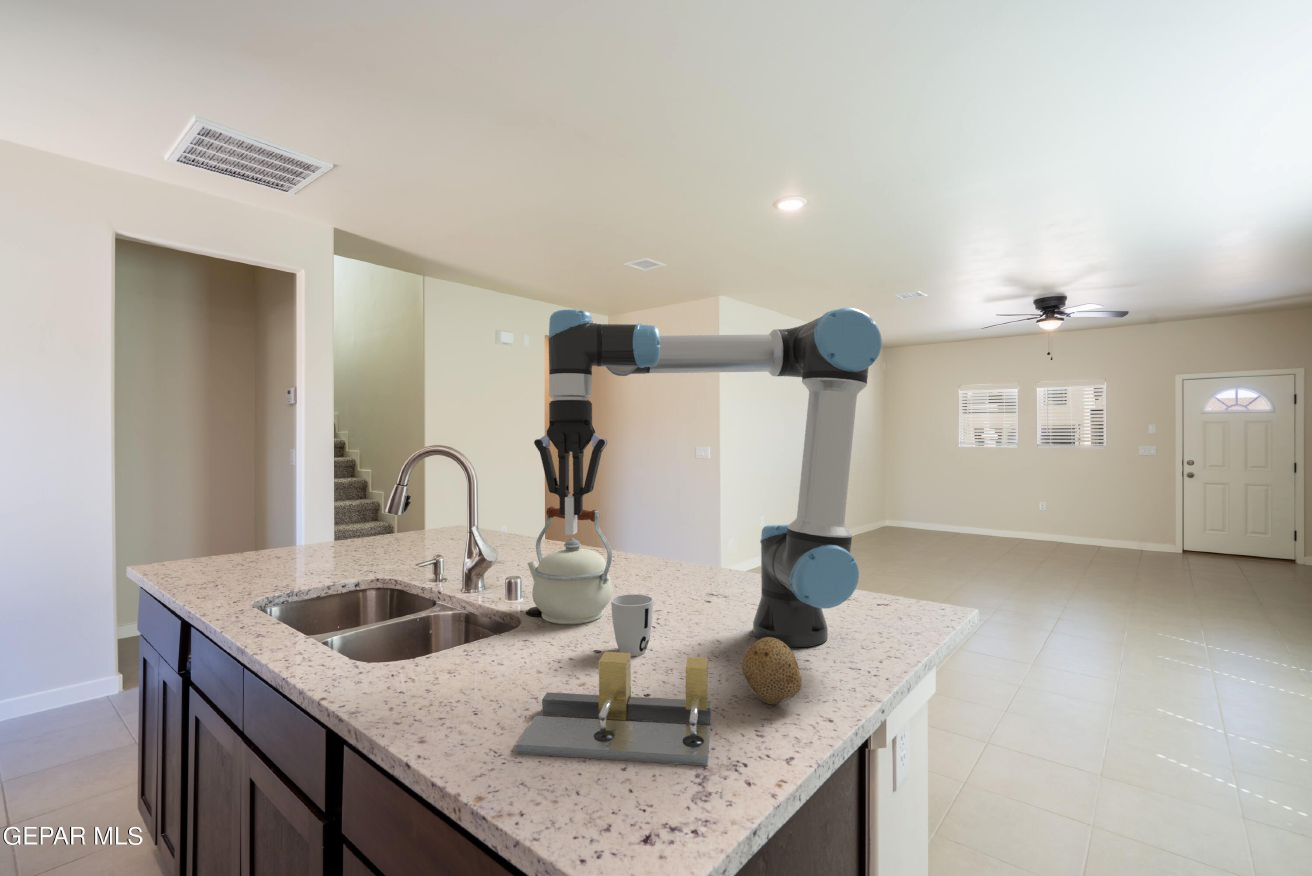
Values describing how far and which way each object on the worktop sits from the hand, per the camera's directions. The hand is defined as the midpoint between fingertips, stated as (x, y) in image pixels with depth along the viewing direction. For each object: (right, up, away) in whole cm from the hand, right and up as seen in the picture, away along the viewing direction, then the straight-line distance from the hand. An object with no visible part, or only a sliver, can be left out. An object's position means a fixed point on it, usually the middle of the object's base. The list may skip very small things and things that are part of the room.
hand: (571, 533), depth 106 cm
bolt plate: (+10, -25, -25) cm, 36 cm away
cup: (+10, -25, +10) cm, 28 cm away
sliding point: (+8, -24, -20) cm, 32 cm away
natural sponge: (+33, -25, -12) cm, 43 cm away
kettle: (-6, -25, +34) cm, 42 cm away
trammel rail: (+10, -24, -20) cm, 33 cm away
